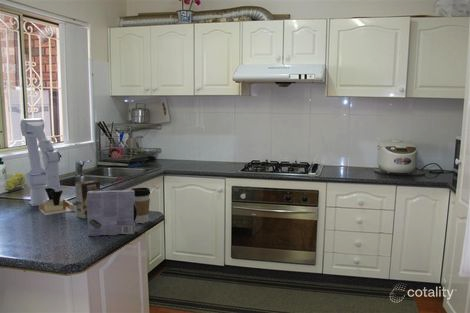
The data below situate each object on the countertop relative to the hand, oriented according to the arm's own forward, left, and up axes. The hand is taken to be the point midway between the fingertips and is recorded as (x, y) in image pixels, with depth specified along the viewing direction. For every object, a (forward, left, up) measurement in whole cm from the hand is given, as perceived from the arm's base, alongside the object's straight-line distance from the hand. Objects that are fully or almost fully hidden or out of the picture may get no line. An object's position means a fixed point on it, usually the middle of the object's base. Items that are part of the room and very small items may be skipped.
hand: (54, 203), depth 199 cm
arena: (0, +1, -3) cm, 4 cm away
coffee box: (+19, +10, -4) cm, 22 cm away
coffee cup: (+43, +25, -4) cm, 50 cm away
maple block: (0, 0, -3) cm, 3 cm away
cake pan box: (+51, +9, -4) cm, 52 cm away
